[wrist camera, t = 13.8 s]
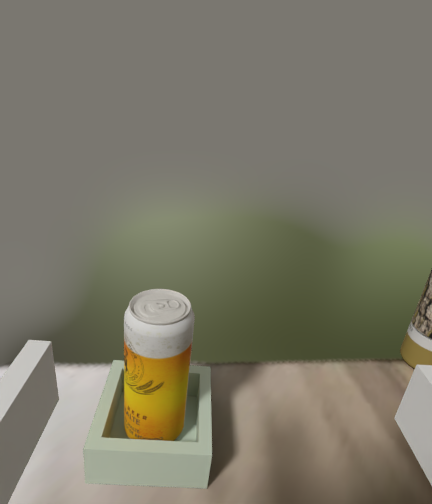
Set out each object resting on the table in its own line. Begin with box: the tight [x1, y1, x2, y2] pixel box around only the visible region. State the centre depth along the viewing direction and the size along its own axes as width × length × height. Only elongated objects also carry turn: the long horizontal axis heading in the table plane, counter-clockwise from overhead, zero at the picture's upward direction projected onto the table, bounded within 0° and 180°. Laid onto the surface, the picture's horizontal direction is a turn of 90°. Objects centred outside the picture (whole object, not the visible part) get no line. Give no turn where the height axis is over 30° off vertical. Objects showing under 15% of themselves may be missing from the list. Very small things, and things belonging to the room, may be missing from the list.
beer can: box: [124, 289, 194, 441], centre depth 34 cm, size 6×6×15 cm
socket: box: [83, 360, 212, 489], centre depth 37 cm, size 11×11×4 cm
